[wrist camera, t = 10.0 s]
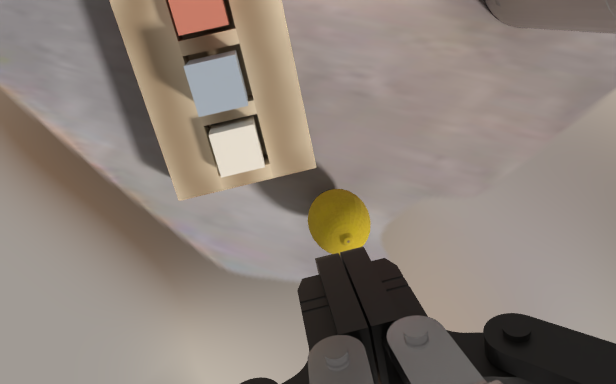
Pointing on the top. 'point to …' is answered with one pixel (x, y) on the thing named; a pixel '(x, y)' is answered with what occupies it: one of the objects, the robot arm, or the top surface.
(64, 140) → the top surface
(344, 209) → the lemon
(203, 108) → the blue key
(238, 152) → the ivory key
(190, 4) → the red key
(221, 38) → the tray
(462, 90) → the top surface
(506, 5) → the robot arm
